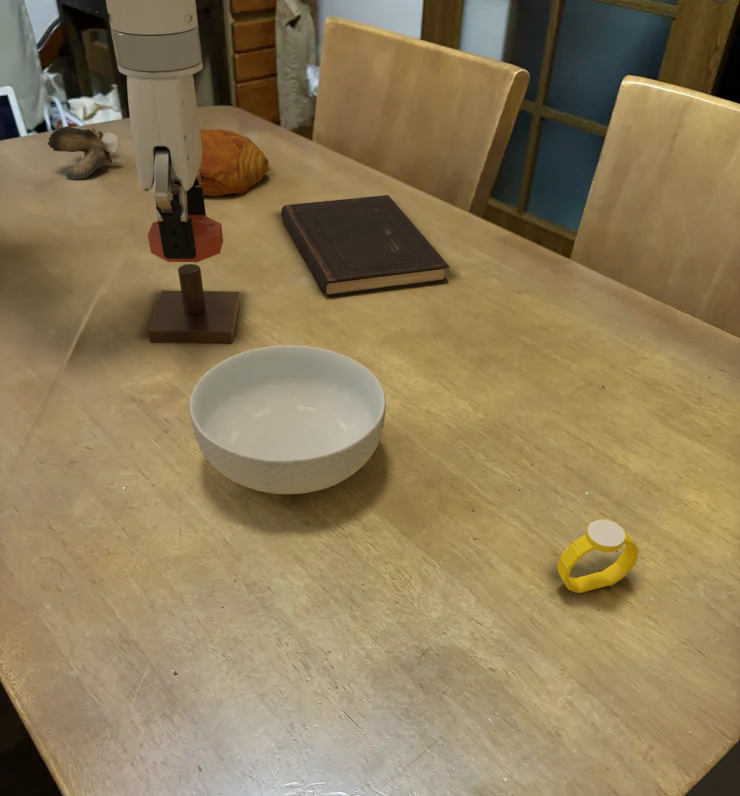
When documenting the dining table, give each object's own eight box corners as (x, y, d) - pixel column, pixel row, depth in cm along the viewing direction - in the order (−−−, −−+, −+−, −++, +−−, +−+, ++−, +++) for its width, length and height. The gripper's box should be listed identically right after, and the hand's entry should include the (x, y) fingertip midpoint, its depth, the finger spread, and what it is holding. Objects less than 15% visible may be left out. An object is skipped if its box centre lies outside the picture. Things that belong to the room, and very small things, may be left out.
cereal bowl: (319, 551, 61) (318, 487, 56) (159, 480, 66) (145, 416, 61) (414, 438, 72) (420, 376, 67) (270, 385, 77) (265, 324, 72)
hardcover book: (387, 210, 110) (388, 194, 109) (447, 282, 95) (449, 265, 93) (281, 221, 106) (280, 205, 105) (325, 298, 91) (324, 281, 89)
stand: (149, 342, 82) (139, 288, 78) (163, 301, 89) (154, 249, 85) (232, 343, 83) (226, 289, 78) (240, 302, 89) (235, 250, 85)
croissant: (189, 174, 124) (176, 121, 119) (279, 170, 120) (269, 116, 115) (153, 205, 113) (137, 149, 108) (250, 202, 110) (238, 144, 105)
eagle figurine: (84, 147, 122) (40, 153, 115) (99, 111, 117) (54, 114, 111) (116, 182, 122) (74, 190, 115) (132, 148, 118) (89, 153, 111)
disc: (147, 262, 77) (143, 243, 76) (159, 232, 82) (156, 214, 81) (217, 262, 77) (215, 244, 76) (225, 232, 82) (223, 214, 81)
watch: (615, 564, 61) (635, 512, 56) (632, 590, 59) (654, 538, 55) (547, 578, 59) (562, 525, 55) (562, 605, 57) (580, 552, 53)
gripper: (135, 26, 73) (164, 207, 85) (92, 75, 61) (134, 279, 73) (212, 28, 74) (231, 207, 86) (185, 77, 61) (212, 279, 73)
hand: (186, 239), depth 79 cm, fingers closed on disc, 7 cm apart
